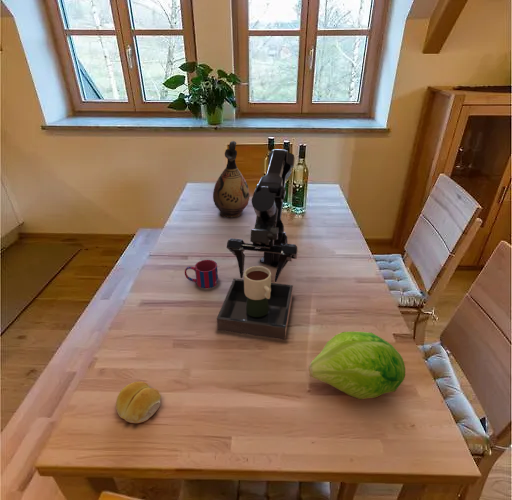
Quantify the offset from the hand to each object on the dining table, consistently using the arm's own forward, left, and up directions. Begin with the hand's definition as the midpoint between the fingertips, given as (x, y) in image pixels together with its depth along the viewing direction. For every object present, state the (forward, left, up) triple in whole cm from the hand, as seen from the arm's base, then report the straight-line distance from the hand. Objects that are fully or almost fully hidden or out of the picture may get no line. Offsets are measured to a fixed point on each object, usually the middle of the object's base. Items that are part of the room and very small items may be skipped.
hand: (258, 279), depth 94 cm
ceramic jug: (-49, -44, -11) cm, 66 cm away
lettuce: (+9, +30, -11) cm, 34 cm away
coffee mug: (+1, 0, -10) cm, 10 cm away
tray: (+1, 0, -11) cm, 11 cm away
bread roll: (+38, -6, -11) cm, 40 cm away
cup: (-2, -22, -11) cm, 24 cm away
